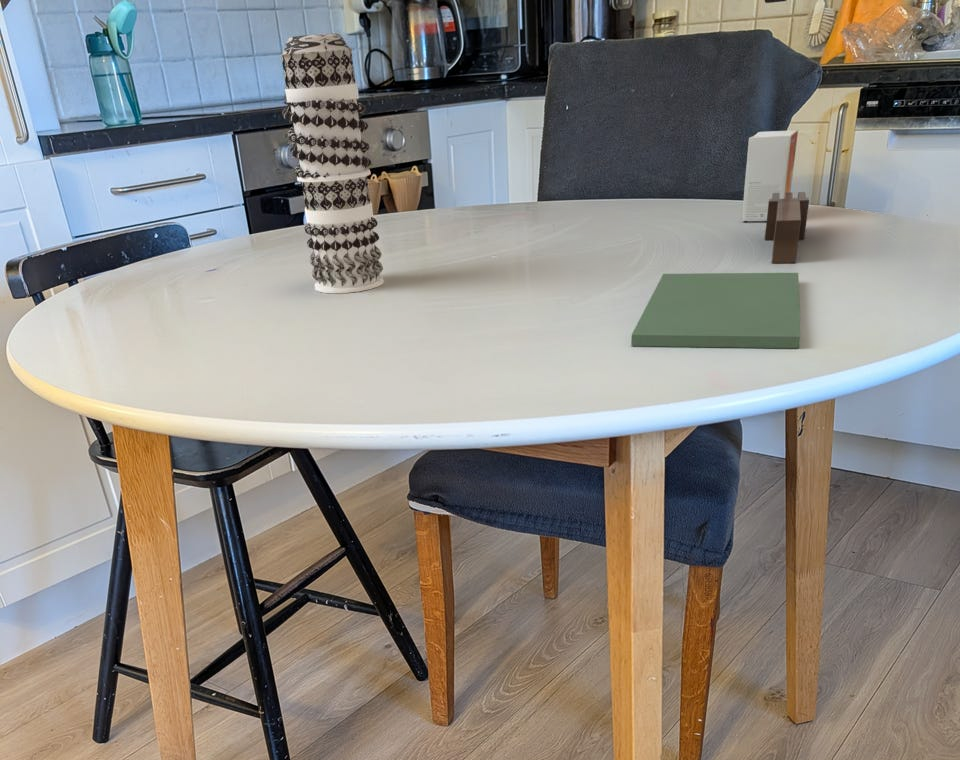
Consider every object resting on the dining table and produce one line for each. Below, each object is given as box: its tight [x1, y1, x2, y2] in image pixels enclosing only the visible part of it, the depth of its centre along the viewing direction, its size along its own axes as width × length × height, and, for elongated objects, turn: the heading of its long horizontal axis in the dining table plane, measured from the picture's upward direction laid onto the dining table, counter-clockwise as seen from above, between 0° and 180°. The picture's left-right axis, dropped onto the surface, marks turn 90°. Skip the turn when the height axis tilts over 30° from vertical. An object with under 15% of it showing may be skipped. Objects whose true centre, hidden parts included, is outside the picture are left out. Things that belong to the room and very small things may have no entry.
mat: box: [630, 272, 801, 349], centre depth 84 cm, size 24×14×1 cm, turn 164°
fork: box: [764, 191, 810, 264], centre depth 107 cm, size 21×5×4 cm, turn 164°
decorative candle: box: [279, 33, 385, 294], centre depth 99 cm, size 9×9×25 cm
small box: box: [741, 129, 799, 222], centre depth 122 cm, size 8×6×10 cm
